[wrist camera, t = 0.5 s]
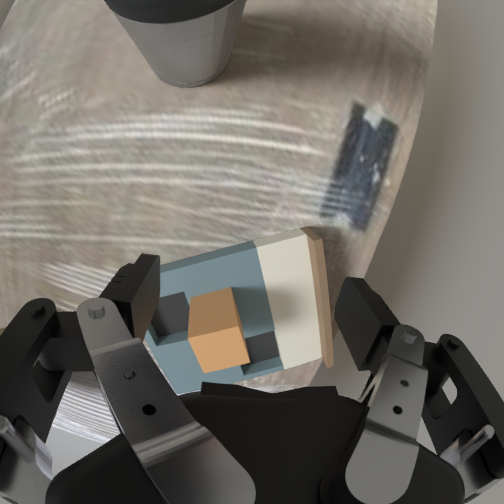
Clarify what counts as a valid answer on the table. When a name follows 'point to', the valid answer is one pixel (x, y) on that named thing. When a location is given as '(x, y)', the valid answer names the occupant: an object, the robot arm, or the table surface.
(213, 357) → the orange block
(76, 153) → the table surface
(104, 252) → the table surface
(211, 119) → the table surface
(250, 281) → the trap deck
